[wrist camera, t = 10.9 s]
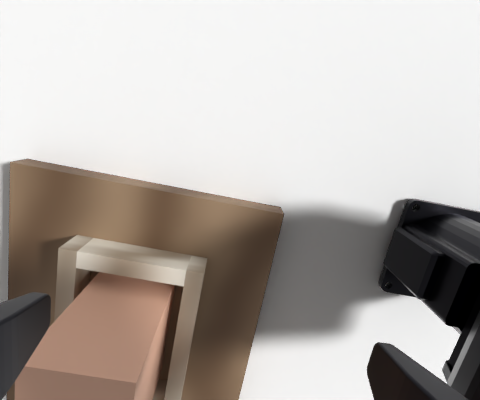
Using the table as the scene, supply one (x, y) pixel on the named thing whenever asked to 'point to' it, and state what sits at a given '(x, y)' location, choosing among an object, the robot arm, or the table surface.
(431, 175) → the table surface
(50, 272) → the socket board
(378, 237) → the table surface
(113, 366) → the key block
